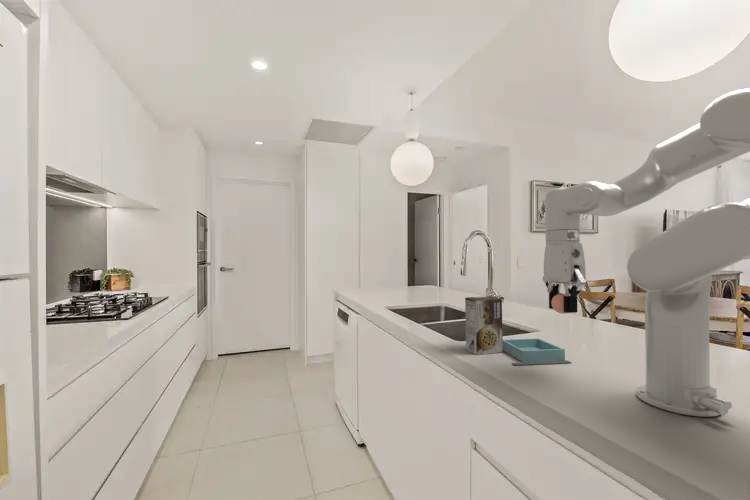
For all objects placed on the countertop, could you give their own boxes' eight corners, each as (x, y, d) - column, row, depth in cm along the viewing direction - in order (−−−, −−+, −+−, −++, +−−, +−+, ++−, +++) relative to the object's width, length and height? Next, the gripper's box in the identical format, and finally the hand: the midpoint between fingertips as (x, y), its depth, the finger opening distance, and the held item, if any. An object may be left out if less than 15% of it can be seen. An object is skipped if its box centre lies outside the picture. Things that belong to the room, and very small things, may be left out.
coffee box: (490, 347, 108) (490, 295, 108) (503, 352, 102) (503, 298, 102) (464, 349, 105) (464, 296, 106) (476, 355, 99) (475, 299, 99)
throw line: (571, 363, 91) (571, 362, 91) (514, 366, 90) (514, 364, 90) (567, 361, 93) (567, 360, 93) (511, 364, 91) (511, 363, 91)
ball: (578, 315, 83) (578, 294, 83) (560, 315, 83) (559, 295, 83) (565, 311, 88) (565, 292, 88) (547, 312, 88) (547, 292, 88)
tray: (564, 360, 94) (564, 349, 94) (523, 362, 93) (523, 351, 93) (538, 348, 106) (538, 338, 106) (501, 349, 105) (501, 339, 105)
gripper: (602, 236, 78) (603, 316, 78) (554, 239, 95) (554, 304, 95) (572, 236, 77) (572, 317, 77) (528, 239, 94) (529, 305, 94)
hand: (562, 309), depth 86 cm, fingers closed on ball, 4 cm apart
